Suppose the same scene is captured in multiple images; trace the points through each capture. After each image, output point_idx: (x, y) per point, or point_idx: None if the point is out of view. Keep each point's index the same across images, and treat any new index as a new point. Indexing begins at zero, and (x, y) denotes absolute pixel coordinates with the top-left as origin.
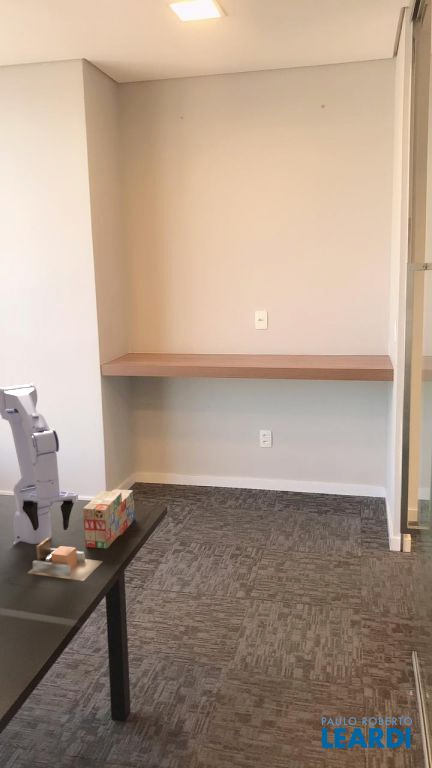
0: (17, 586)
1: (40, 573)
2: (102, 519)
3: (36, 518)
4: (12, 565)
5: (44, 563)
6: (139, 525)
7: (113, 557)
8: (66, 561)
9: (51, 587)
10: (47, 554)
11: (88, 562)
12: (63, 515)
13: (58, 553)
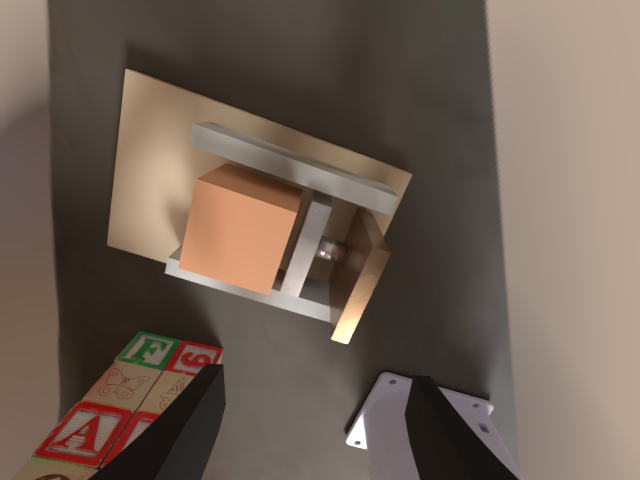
0: (441, 84)
1: (351, 163)
2: (44, 464)
3: (433, 474)
4: (481, 267)
5: (331, 175)
6: None
7: (98, 290)
8: (214, 174)
9: (281, 58)
10: (338, 272)
11: (164, 240)
12: (145, 472)
13: (255, 211)
